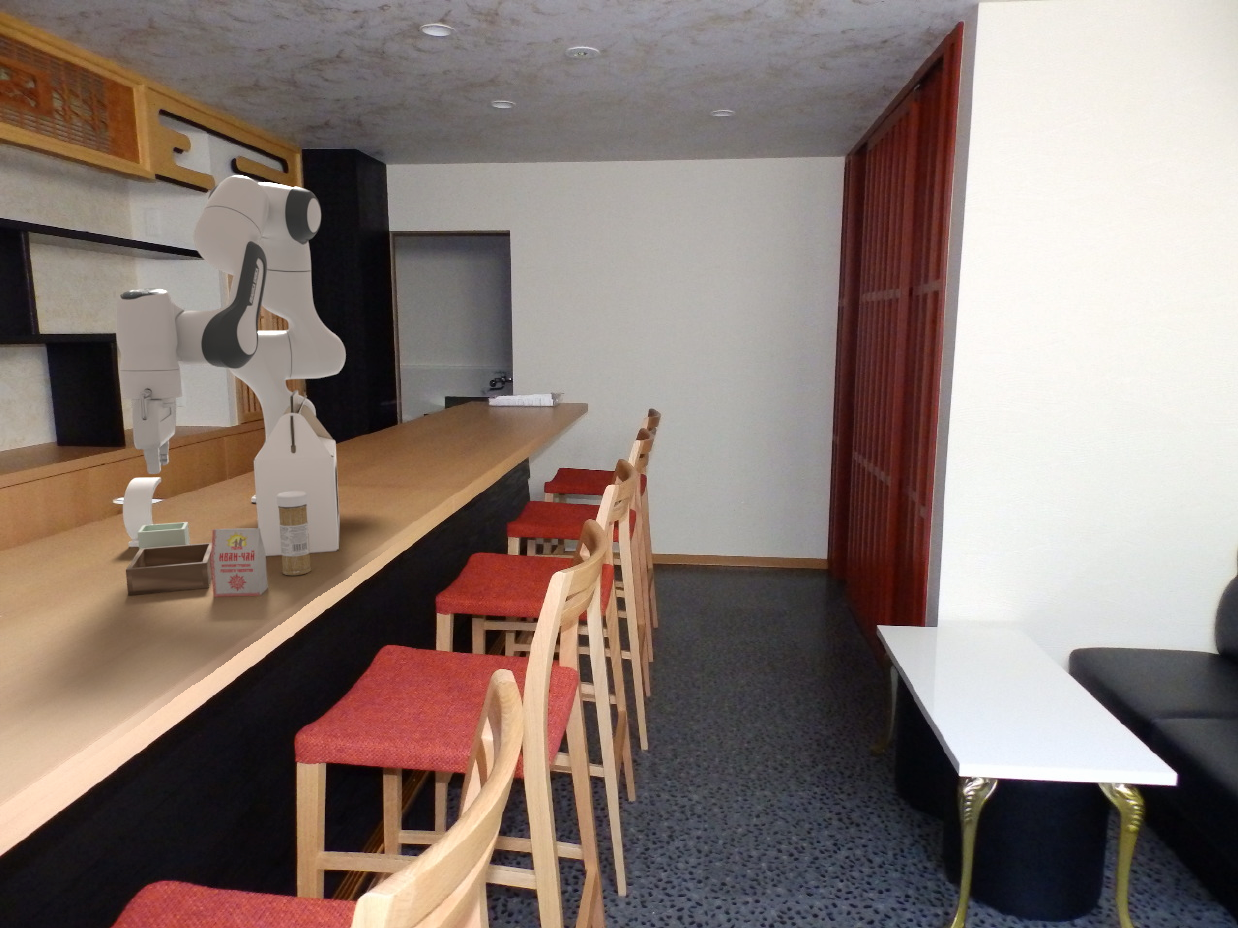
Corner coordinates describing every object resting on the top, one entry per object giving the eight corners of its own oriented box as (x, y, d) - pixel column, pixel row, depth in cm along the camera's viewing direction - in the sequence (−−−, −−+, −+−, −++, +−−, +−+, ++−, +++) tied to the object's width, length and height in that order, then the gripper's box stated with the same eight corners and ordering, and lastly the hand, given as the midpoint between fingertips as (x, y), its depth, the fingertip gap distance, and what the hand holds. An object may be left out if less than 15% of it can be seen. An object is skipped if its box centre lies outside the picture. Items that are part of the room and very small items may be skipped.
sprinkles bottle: (309, 567, 142) (305, 489, 139) (312, 574, 138) (308, 494, 135) (280, 570, 140) (275, 491, 137) (282, 577, 136) (277, 496, 133)
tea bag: (222, 589, 130) (217, 526, 128) (267, 587, 130) (263, 525, 129) (213, 596, 126) (208, 532, 125) (259, 595, 127) (255, 531, 125)
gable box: (338, 551, 152) (330, 397, 147) (259, 557, 148) (249, 398, 143) (339, 524, 172) (332, 388, 168) (270, 528, 168) (261, 389, 164)
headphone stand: (166, 539, 159) (161, 477, 157) (152, 547, 153) (146, 483, 151) (140, 539, 159) (135, 477, 157) (125, 548, 153) (119, 483, 151)
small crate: (140, 567, 141) (137, 532, 140) (146, 558, 146) (143, 525, 145) (187, 563, 144) (184, 528, 143) (190, 554, 149) (188, 521, 148)
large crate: (142, 571, 138) (140, 548, 138) (215, 565, 142) (214, 542, 142) (128, 595, 126) (125, 569, 126) (208, 587, 130) (206, 562, 130)
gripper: (164, 391, 131) (171, 477, 134) (180, 383, 150) (186, 459, 153) (118, 392, 129) (126, 480, 131) (140, 384, 148) (147, 461, 150)
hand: (158, 469), depth 142 cm, fingers open, 8 cm apart
